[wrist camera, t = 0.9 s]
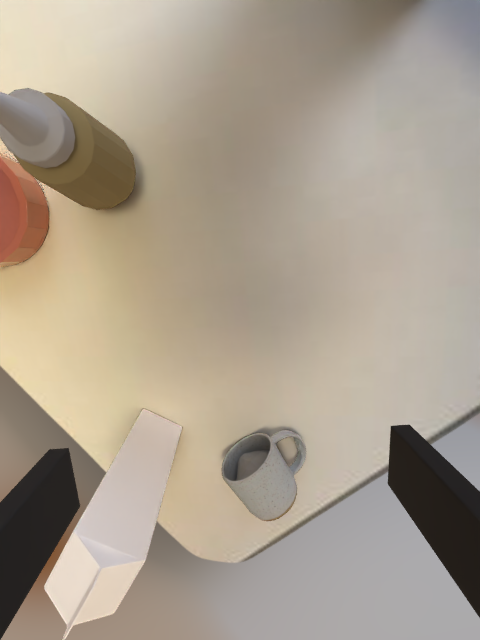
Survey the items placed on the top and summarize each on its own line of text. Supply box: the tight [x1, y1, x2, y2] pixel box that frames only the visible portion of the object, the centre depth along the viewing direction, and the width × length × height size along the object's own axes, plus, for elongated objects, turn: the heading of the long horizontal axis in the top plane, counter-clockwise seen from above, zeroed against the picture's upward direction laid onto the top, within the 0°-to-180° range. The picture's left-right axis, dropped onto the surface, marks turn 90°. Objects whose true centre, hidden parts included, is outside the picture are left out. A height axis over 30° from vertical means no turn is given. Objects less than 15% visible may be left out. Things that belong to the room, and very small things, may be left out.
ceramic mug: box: [222, 430, 306, 521], centre depth 39 cm, size 11×8×8 cm
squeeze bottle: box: [0, 88, 136, 210], centre depth 26 cm, size 8×8×18 cm
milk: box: [44, 409, 182, 640], centre depth 31 cm, size 6×6×22 cm
